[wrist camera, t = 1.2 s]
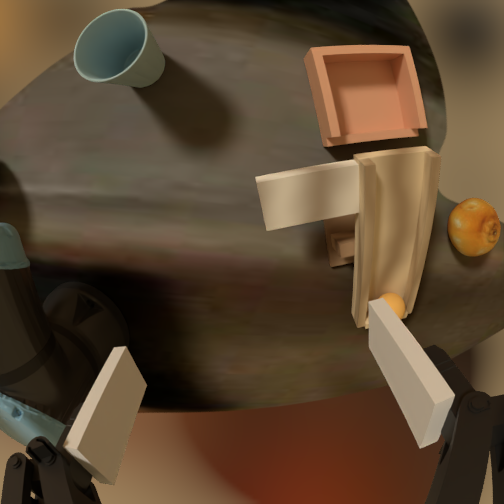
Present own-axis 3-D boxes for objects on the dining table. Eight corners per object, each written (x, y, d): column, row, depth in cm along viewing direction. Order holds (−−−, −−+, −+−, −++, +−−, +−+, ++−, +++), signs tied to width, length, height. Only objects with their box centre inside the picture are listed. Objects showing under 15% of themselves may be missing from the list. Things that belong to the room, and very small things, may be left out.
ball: (369, 315, 37) (380, 335, 33) (370, 290, 35) (381, 309, 32) (396, 308, 37) (408, 326, 33) (398, 283, 35) (412, 301, 31)
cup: (176, 35, 28) (150, 1, 18) (174, 92, 31) (145, 73, 21) (118, 45, 28) (78, 20, 18) (115, 100, 31) (71, 89, 21)
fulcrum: (329, 264, 38) (339, 280, 34) (322, 212, 36) (332, 222, 31) (410, 246, 38) (427, 259, 33) (407, 196, 35) (426, 203, 31)
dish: (323, 146, 33) (333, 146, 29) (303, 58, 30) (310, 47, 25) (410, 135, 33) (428, 136, 28) (392, 54, 29) (409, 46, 25)
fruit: (476, 177, 32) (496, 214, 27) (496, 212, 34) (513, 251, 29) (433, 206, 38) (445, 245, 32) (457, 237, 40) (468, 276, 35)
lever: (286, 326, 39) (289, 346, 37) (254, 172, 26) (257, 188, 23) (403, 298, 38) (412, 315, 36) (425, 145, 25) (444, 158, 22)
